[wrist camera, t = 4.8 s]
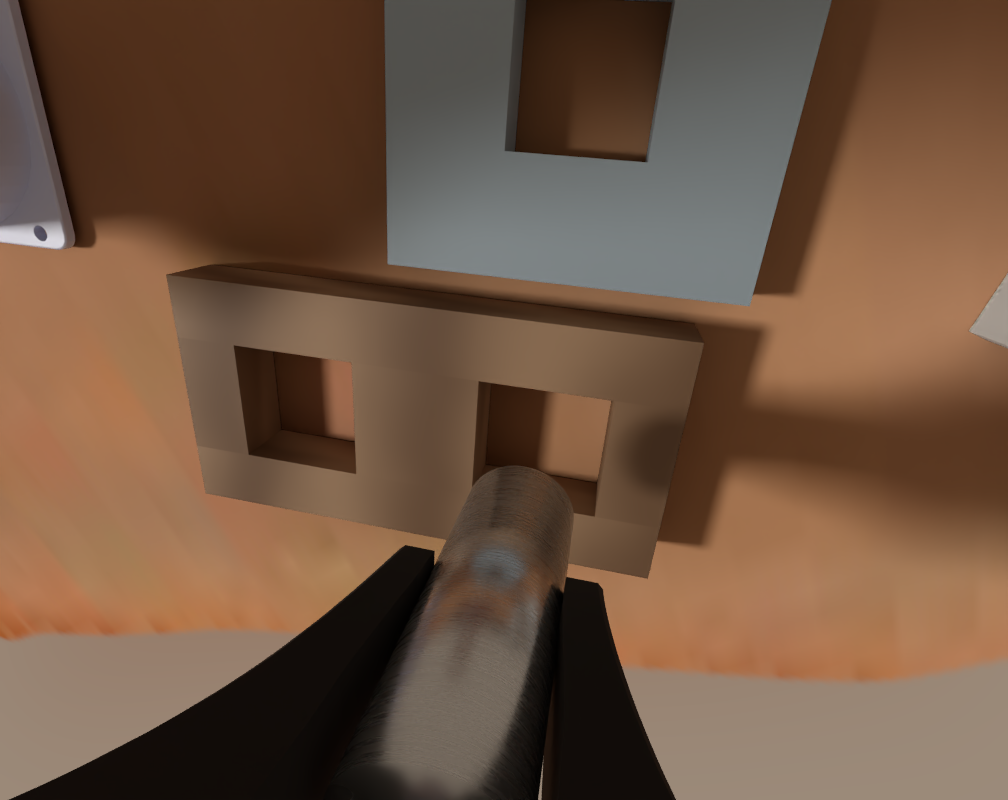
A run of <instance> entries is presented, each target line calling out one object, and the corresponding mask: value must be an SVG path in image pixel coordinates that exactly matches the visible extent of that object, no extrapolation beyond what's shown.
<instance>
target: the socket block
mask: <svg viewBox="0 0 1008 800" xmlns="http://www.w3.org/2000/svg"><path fill="white" fill-rule="evenodd" d="M626 1H653V2H672V6H671V12H670V18H669V24H668V30H667V36H666V42H665V48H664V54H663V60H662V66H661V72H660V78H659V84H658V89H657V95H656V101H655V107H654V113H653V119H652V125H651V131H650V137H649V143H648V149H647V155H646V161H645V162H636V161H623V160H611V159H598V158H586V157H573V156H561V155H548V154H536V153H524V152H515V144H516V131H517V118H518V105H519V92H520V78H521V65H522V52H523V39H524V26H525V13H526V0H384V9H385V89H386V170H387V250H388V264H390V265H399V266H408V267H416V268H425V269H434V270H442V271H451V272H459V273H468V274H477V275H485V276H494V277H502V278H511V279H520V280H528V281H537V282H546V283H554V284H563V285H571V286H580V287H589V288H597V289H606V290H615V291H623V292H632V293H640V294H649V295H658V296H666V297H675V298H683V299H692V300H701V301H709V302H718V303H727V304H735V305H744V306H750V303H751V300H752V296H753V292H754V288H755V285H756V281H757V277H758V273H759V270H760V266H761V262H762V259H763V255H764V251H765V247H766V244H767V240H768V236H769V232H770V229H771V225H772V221H773V218H774V214H775V210H776V206H777V203H778V199H779V195H780V191H781V188H782V184H783V180H784V177H785V173H786V169H787V165H788V162H789V158H790V154H791V150H792V147H793V143H794V139H795V136H796V132H797V128H798V124H799V121H800V117H801V113H802V109H803V106H804V102H805V98H806V95H807V91H808V87H809V83H810V80H811V76H812V72H813V68H814V65H815V61H816V57H817V54H818V50H819V46H820V42H821V39H822V35H823V31H824V27H825V24H826V20H827V16H828V13H829V9H830V5H831V1H832V0H626Z"/></svg>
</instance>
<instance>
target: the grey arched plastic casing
mask: <svg viewBox="0 0 1008 800" xmlns="http://www.w3.org/2000/svg"><path fill="white" fill-rule="evenodd" d="M969 332H971V333H973V334H975V335H977V336H979V337H981V338H983V339H985V340H988V341H990V342H993V343H995V344H998V345H1000V346H1003V347H1005V348H1008V274H1007V275H1006V277H1005V278H1004V280H1003V281H1002V283H1001V284H1000V286H999V287H998V289H997V290H996V292H995V293H994V295H993V296H992V298H991V299H990V300H989V302H988V303H987V305H986V306H985V308H984V309H983V311H982V312H981V314H980V315H979V317H978V318H977V320H976V321H975V323H974V324H973V326H972V327H971V329H970V330H969Z"/></svg>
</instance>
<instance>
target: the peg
mask: <svg viewBox="0 0 1008 800" xmlns="http://www.w3.org/2000/svg"><path fill="white" fill-rule="evenodd" d="M573 523H574V512H573V507H572V504H571V501H570V499H569V497H568V495H567V493H566V492H565V491H564V489H563V488H562V487H561V486H560V485H559V484H558V483H557V482H556V481H555V480H554V479H553V478H551V477H550V476H548V475H547V474H545V473H543V472H541V471H539V470H536V469H533V468H529V467H525V466H504V467H500V468H496V469H494V470H491V471H489V472H487V473H486V474H484V475H483V476H482V477H480V478H479V479H478V480H477V481H476V482H475V484H474V485H473V487H472V489H471V491H470V493H469V495H468V497H467V499H466V501H465V503H464V505H463V507H462V509H461V511H460V514H459V516H458V518H457V520H456V522H455V524H454V526H453V528H452V530H451V532H450V534H449V536H448V538H447V541H446V543H445V545H444V547H443V549H442V551H441V553H440V555H439V557H438V559H437V561H436V563H435V565H434V568H433V570H432V572H431V574H430V576H429V578H428V580H427V582H426V584H425V586H424V588H423V590H422V593H421V595H420V597H419V599H418V601H417V603H416V605H415V607H414V609H413V611H412V613H411V615H410V617H409V620H408V622H407V624H406V626H405V628H404V630H403V632H402V634H401V636H400V638H399V640H398V642H397V645H396V647H395V649H394V651H393V653H392V655H391V657H390V659H389V661H388V663H387V665H386V667H385V669H384V672H383V674H382V676H381V678H380V680H379V682H378V684H377V686H376V688H375V690H374V692H373V694H372V697H371V699H370V701H369V703H368V705H367V707H366V709H365V711H364V713H363V715H362V717H361V719H360V721H359V724H358V726H357V728H356V730H355V732H354V734H353V736H352V738H351V740H350V742H349V744H348V746H347V749H346V751H345V753H344V755H343V757H342V759H341V761H340V763H339V765H338V767H337V769H336V771H335V773H334V776H333V778H332V780H331V782H330V784H329V786H328V788H327V790H326V792H325V794H324V798H323V800H538V794H539V787H540V779H541V771H542V764H543V756H544V748H545V740H546V733H547V725H548V717H549V709H550V701H551V694H552V686H553V678H554V670H555V663H556V654H557V642H558V630H559V623H560V615H561V607H562V600H563V592H564V586H565V580H566V577H567V569H568V562H569V554H570V546H571V538H572V531H573Z"/></svg>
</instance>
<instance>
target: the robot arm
mask: <svg viewBox="0 0 1008 800" xmlns="http://www.w3.org/2000/svg"><path fill="white" fill-rule="evenodd" d="M45 231H46V232H45ZM46 233H47V235H46ZM0 242H1V243H9V244H17V245H25V246H33V247H41V248H49V249H57V250H59V249H67V248H71V247H72V246H73V245H74V243H75V233H74V229H73V225H72V221H71V217H70V213H69V209H68V205H67V200H66V196H65V192H64V188H63V184H62V180H61V176H60V171H59V167H58V163H57V159H56V155H55V151H54V147H53V143H52V138H51V134H50V130H49V126H48V122H47V118H46V114H45V110H44V105H43V101H42V97H41V93H40V89H39V85H38V81H37V77H36V72H35V68H34V64H33V60H32V56H31V52H30V48H29V44H28V39H27V35H26V31H25V27H24V23H23V19H22V15H21V11H20V6H19V2H18V0H0ZM433 568H434V551H432V550H427V549H422V548H417V547H412V546H407V545H405V546H404V547H402V548H401V549H399V550H398V551H397V552H396V553H395V554H394V555H393V556H392V557H391V558H389V559H388V560H387V561H386V562H385V563H384V564H383V565H382V566H381V567H380V568H378V569H377V570H376V571H375V572H374V573H373V574H372V575H371V576H370V577H368V578H367V579H366V580H365V581H364V582H363V583H362V584H360V585H359V586H358V587H357V588H356V589H355V590H354V591H352V592H351V593H350V594H349V595H348V596H346V597H345V598H344V599H343V600H342V601H340V602H339V603H338V604H337V605H336V606H334V607H333V608H332V609H331V610H330V611H328V612H327V613H326V614H325V615H324V616H322V617H321V618H320V619H319V620H317V621H316V622H315V623H313V624H312V625H311V626H310V627H308V628H307V629H306V630H304V631H303V632H302V633H300V634H299V635H298V636H296V637H295V638H294V639H292V640H291V641H290V642H288V643H287V644H286V645H284V646H283V647H282V648H281V649H279V650H278V651H276V652H275V653H274V654H272V655H271V656H269V657H268V658H267V659H265V660H264V661H262V662H261V663H259V664H258V665H256V666H255V667H254V668H252V669H251V670H249V671H248V672H246V673H245V674H243V675H242V676H240V677H238V678H237V679H235V680H234V681H232V682H231V683H229V684H228V685H226V686H225V687H223V688H222V689H220V690H218V691H217V692H215V693H214V694H212V695H210V696H209V697H207V698H205V699H204V700H202V701H200V702H199V703H197V704H195V705H194V706H192V707H190V708H189V709H187V710H185V711H184V712H182V713H180V714H179V715H177V716H175V717H173V718H172V719H170V720H168V721H167V722H165V723H163V724H161V725H159V726H158V727H156V728H154V729H152V730H150V731H149V732H147V733H145V734H143V735H141V736H139V737H138V738H135V739H133V740H131V741H130V742H128V743H126V744H124V745H122V746H120V747H118V748H116V749H114V750H112V751H110V752H108V753H106V754H104V755H102V756H100V757H99V758H97V759H95V760H93V761H91V762H89V763H87V764H85V765H83V766H81V767H79V768H77V769H75V770H73V771H71V772H69V773H67V774H64V775H62V776H60V777H58V778H56V779H54V780H52V781H50V782H48V783H46V784H43V785H41V786H39V787H37V788H34V789H32V790H30V791H28V792H25V793H23V794H21V795H19V796H16V797H14V798H12V799H9V800H323V798H324V794H325V792H326V790H327V788H328V786H329V784H330V782H331V780H332V778H333V776H334V773H335V771H336V769H337V767H338V765H339V763H340V761H341V759H342V757H343V755H344V753H345V751H346V749H347V746H348V744H349V742H350V740H351V738H352V736H353V734H354V732H355V730H356V728H357V726H358V724H359V721H360V719H361V717H362V715H363V713H364V711H365V709H366V707H367V705H368V703H369V701H370V699H371V697H372V694H373V692H374V690H375V688H376V686H377V684H378V682H379V680H380V678H381V676H382V674H383V672H384V669H385V667H386V665H387V663H388V661H389V659H390V657H391V655H392V653H393V651H394V649H395V647H396V645H397V642H398V640H399V638H400V636H401V634H402V632H403V630H404V628H405V626H406V624H407V622H408V620H409V617H410V615H411V613H412V611H413V609H414V607H415V605H416V603H417V601H418V599H419V597H420V595H421V593H422V590H423V588H424V586H425V584H426V582H427V580H428V578H429V576H430V574H431V572H432V570H433ZM542 800H676V799H675V797H674V795H673V792H672V791H671V788H670V786H669V784H668V782H667V780H666V778H665V775H664V774H663V771H662V769H661V767H660V764H659V762H658V760H657V758H656V755H655V753H654V751H653V748H652V746H651V744H650V741H649V739H648V736H647V734H646V732H645V729H644V727H643V724H642V721H641V719H640V717H639V714H638V711H637V709H636V706H635V704H634V701H633V698H632V695H631V693H630V690H629V687H628V684H627V681H626V678H625V675H624V672H623V669H622V666H621V663H620V660H619V657H618V654H617V651H616V647H615V644H614V640H613V636H612V633H611V629H610V625H609V621H608V617H607V612H606V608H605V602H604V596H603V589H602V588H601V586H600V585H599V584H598V583H594V582H589V581H584V580H579V579H574V578H569V577H566V580H565V586H564V592H563V600H562V607H561V615H560V623H559V630H558V642H557V654H556V663H555V670H554V678H553V686H552V694H551V701H550V709H549V717H548V725H547V733H546V740H545V748H544V759H543V780H542Z"/></svg>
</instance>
